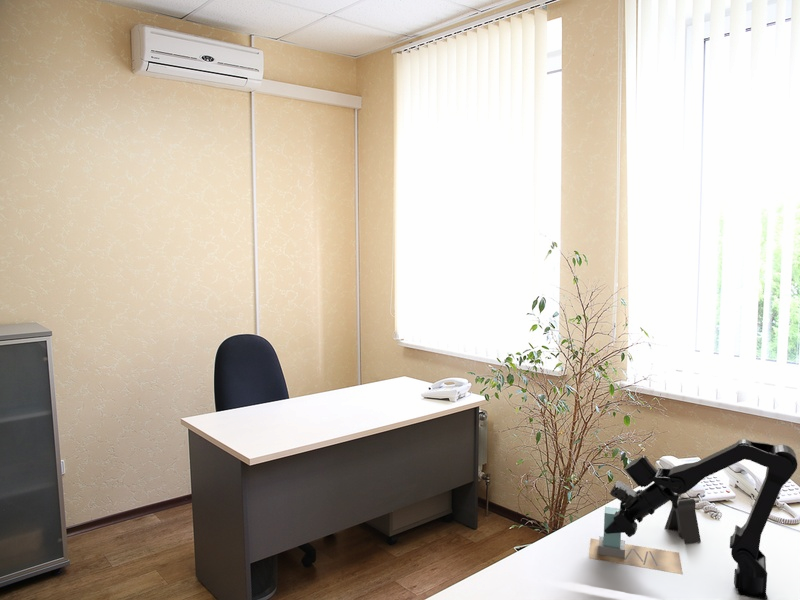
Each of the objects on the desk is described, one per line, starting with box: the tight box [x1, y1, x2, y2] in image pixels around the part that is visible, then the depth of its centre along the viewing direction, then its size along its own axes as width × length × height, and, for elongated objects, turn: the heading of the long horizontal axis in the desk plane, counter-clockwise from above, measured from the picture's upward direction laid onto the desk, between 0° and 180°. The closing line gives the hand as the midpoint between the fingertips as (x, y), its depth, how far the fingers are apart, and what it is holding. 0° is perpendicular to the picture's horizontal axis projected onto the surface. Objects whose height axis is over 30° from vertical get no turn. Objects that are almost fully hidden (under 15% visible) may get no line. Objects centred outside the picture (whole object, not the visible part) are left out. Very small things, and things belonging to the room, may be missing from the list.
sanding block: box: [598, 506, 626, 559], centre depth 175 cm, size 7×6×12 cm
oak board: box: [588, 538, 684, 575], centre depth 173 cm, size 24×12×2 cm, turn 70°
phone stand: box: [664, 496, 702, 545], centre depth 187 cm, size 9×6×12 cm, turn 13°
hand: (607, 528), depth 175 cm, fingers closed on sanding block, 5 cm apart
